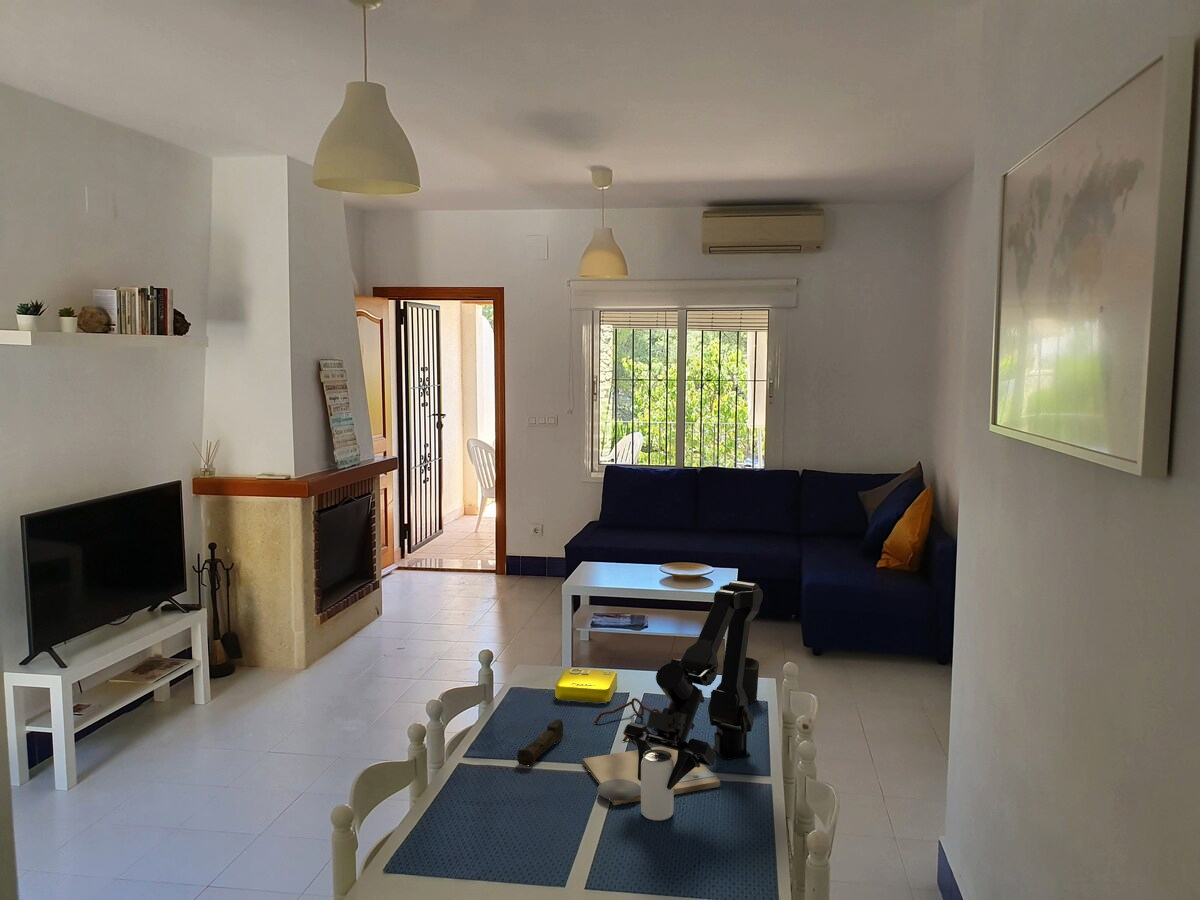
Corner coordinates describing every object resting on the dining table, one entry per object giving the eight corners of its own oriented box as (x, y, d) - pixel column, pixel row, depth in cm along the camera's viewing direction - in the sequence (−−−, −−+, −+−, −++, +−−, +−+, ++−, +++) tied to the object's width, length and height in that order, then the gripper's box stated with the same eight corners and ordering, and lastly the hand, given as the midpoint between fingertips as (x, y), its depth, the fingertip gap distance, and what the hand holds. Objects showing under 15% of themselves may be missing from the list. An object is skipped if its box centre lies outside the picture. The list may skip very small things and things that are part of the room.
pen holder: (718, 692, 240) (719, 657, 239) (752, 691, 241) (753, 655, 240) (727, 706, 231) (728, 668, 230) (762, 704, 232) (763, 667, 231)
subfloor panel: (680, 748, 205) (680, 742, 205) (722, 788, 186) (722, 782, 185) (574, 765, 197) (574, 759, 197) (605, 809, 177) (605, 802, 177)
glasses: (666, 731, 216) (666, 711, 216) (622, 743, 209) (622, 723, 208) (634, 713, 227) (634, 694, 226) (591, 725, 220) (591, 706, 219)
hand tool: (531, 769, 195) (531, 748, 195) (516, 765, 197) (516, 745, 197) (572, 737, 212) (572, 718, 212) (558, 734, 214) (558, 715, 214)
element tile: (553, 701, 235) (553, 684, 235) (565, 682, 250) (565, 665, 249) (609, 705, 233) (609, 688, 232) (618, 685, 247) (618, 669, 247)
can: (663, 825, 171) (664, 765, 170) (634, 816, 174) (634, 757, 173) (679, 810, 176) (679, 753, 175) (650, 802, 180) (650, 745, 179)
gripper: (628, 684, 182) (597, 755, 174) (709, 703, 171) (681, 780, 163) (647, 709, 189) (619, 778, 181) (727, 728, 178) (701, 803, 170)
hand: (653, 784), depth 174 cm, fingers open, 6 cm apart
